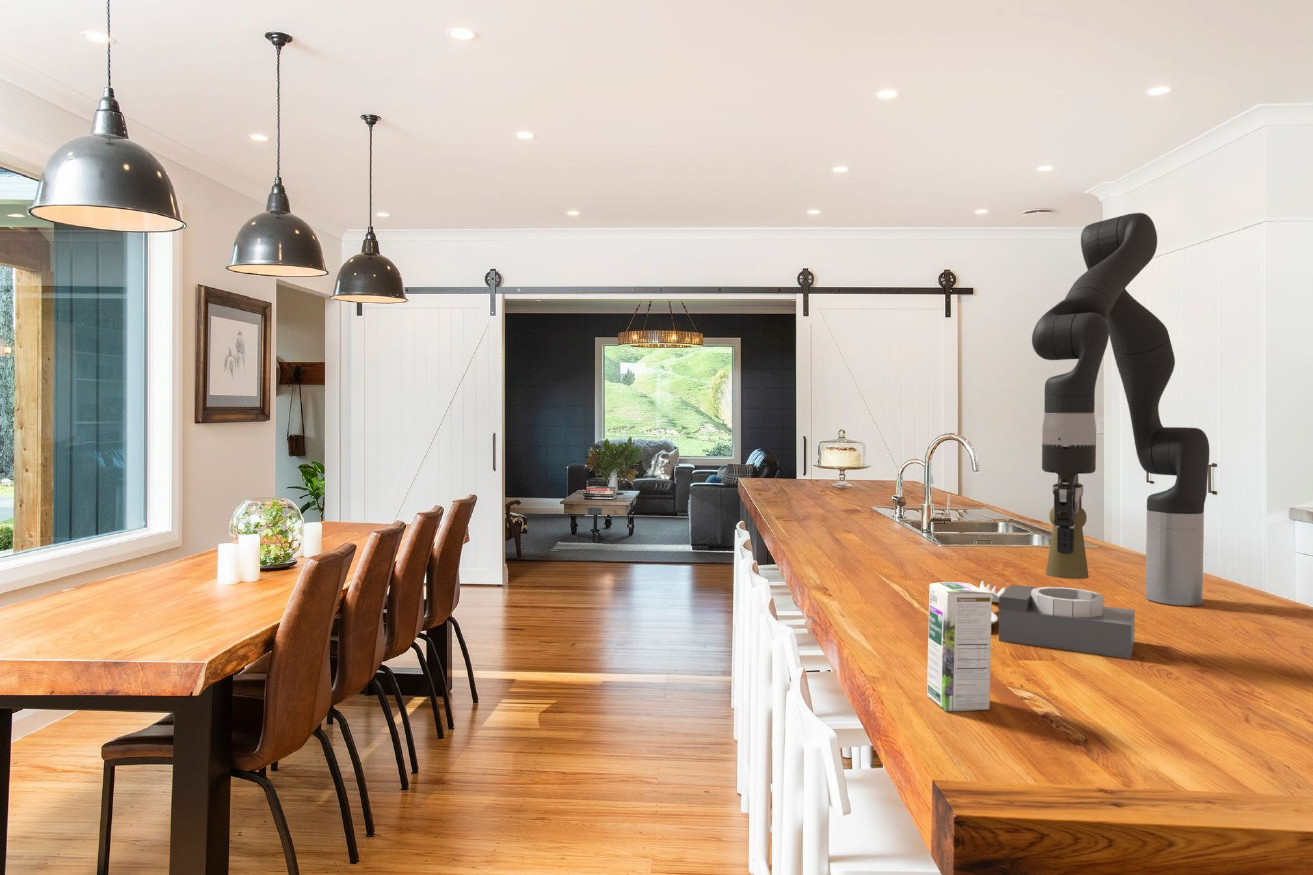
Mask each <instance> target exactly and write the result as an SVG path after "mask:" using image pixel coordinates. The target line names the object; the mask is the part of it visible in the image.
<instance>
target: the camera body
mask: <svg viewBox="0 0 1313 875" xmlns="http://www.w3.org/2000/svg"><path fill="white" fill-rule="evenodd" d="M1104 603H1105V596H1104V595H1103V594H1100V593H1099V592H1095V591H1092V590H1086V589H1081V588H1075V587H1073V588H1072V587H1063V586H1062V587H1061V586H1043V587H1042V586H1041V587H1037V586H1030V585H1019V584H1010V585H1009V586H1008V587H1007V588H1006V590H1005V591H1004V592H1003V593H1002V594H1001V595H1000V596H999V603H998V642H1005V643H1013V644H1019V645H1027V646H1035V647H1039V648H1040V647H1042V648H1048V649H1049V648H1050V649H1057V650H1062V651H1063V650H1064V651H1071V652H1077V653H1084V654H1092V655H1098V656H1099V655H1100V656H1106V657H1113V658H1120V659H1126V660H1127V659H1129V660H1131V659H1132V654H1133V649H1134V646H1135V645H1134V644H1135V626H1136V624H1135V622H1136V621H1135V620H1136V618H1135V617H1136V616H1135V615H1136V613H1135V612H1136V609H1129V608H1121V607H1111V606H1105V605H1104Z"/></svg>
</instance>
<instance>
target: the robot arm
mask: <svg viewBox="0 0 1313 875" xmlns="http://www.w3.org/2000/svg"><path fill="white" fill-rule="evenodd" d="M1157 234H1158V233H1157V229H1156V226H1155V223H1154V221H1153V219H1152V218H1151V217H1150V216H1149V215H1148V214H1146V213H1143V212H1133V213H1128V214H1124V215H1121V216H1120V215H1119V216H1116V217H1112V218H1107V219H1104V220H1101V221H1097V222H1093V223H1091V224H1087V225H1086V226H1085V227H1084V228H1083V229H1082V231H1081V234H1080V247H1081V252H1082V256H1083V261H1084V264H1085V266H1086V269H1087V270H1086V272H1084V273H1083V274H1081V275H1080V276H1079V277H1078V278H1077V280H1075V282H1074V283H1073V285H1071V288H1070V289H1069V291H1068V292H1067V294H1066V296H1065V298H1064V299H1063V300H1061V301H1060V302H1058V303H1057V304H1056V305H1055V306H1053V307H1051V309H1049V310H1048V311H1046V312H1045V313H1044V314H1043V315H1042V316H1041V317H1040V319H1038V321H1037V322H1036V324H1035V326H1034V328H1033V332H1032V335H1031V344H1032V348H1033V350H1034V352H1035V354H1036V355H1038V356H1039V357H1040V358H1041V359H1044V360H1047V361H1064V360H1066V361H1067V360H1077V363H1076V364H1075V366H1074V368H1073V369H1071V371H1068V372H1066V373H1062V374H1058V375H1054V376H1051V377H1049V378H1047V380H1046V381H1045V384H1044V410H1043V411H1044V414H1043V423H1042V430H1041V432H1042V434H1041V438H1042V439H1041V442H1042V444H1041V469H1042V471H1043V472H1045V473H1051V474H1056V475H1057V483H1055V484H1052V494H1053V507H1054V508H1053V507H1052V508H1053V510H1054V513H1055V520H1054V523H1055V526H1056V528H1059V529H1057V551H1058V552H1059V553H1065V554H1071V553H1073V551H1074V530H1073V529H1074V527H1075V515H1078V514H1079V507H1081V508H1082V509H1083V498H1082V497H1083V494H1084V484H1081V482H1080V481H1079V474H1080V475H1084V474H1085V475H1087V474H1088V475H1089V474H1094V473H1095V472H1096V470H1097V468H1096V462H1097V461H1096V460H1097V453H1096V451H1097V446H1096V445H1097V424H1096V418H1095V408H1096V405H1095V404H1096V403H1095V396H1096V384H1097V379H1098V375H1099V370H1100V367H1101V364H1102V361H1103V359H1104V355H1105V353H1106V349H1107V346H1108V343H1109V340H1110V344H1111V349H1112V353H1113V356H1114V361H1115V362H1116V363H1115V364H1116V366H1117V370H1118V374H1119V376H1120V379H1121V382H1122V383H1121V384H1122V386H1123V390H1124V394H1125V398H1126V401H1127V406H1128V410H1129V416H1130V420H1131V421H1130V422H1131V427H1132V433H1133V439H1134V446H1135V451H1136V456H1137V459H1138V461H1139V464H1140V466H1141V468H1142V469H1143V470H1144V472H1147V473H1148V474H1153V475H1156V476H1157V475H1160V476H1176V479H1175V483H1174V484H1173V486H1172V487H1169V488H1168V489H1166V490H1163V491H1160V492H1156V493H1153V494H1152V493H1151V494H1150V495H1148V496H1147V499H1146V538H1145V539H1146V540H1145V541H1146V542H1145V543H1146V544H1145V547H1146V548H1145V553H1146V554H1145V599H1146V600H1148V601H1152V602H1155V603H1159V604H1165V605H1173V606H1187V607H1190V606H1200V605H1202V604H1203V595H1204V594H1203V584H1204V541H1205V540H1204V539H1205V538H1204V537H1205V536H1204V535H1205V534H1204V532H1205V531H1204V529H1205V528H1204V527H1205V524H1204V523H1205V504H1206V503H1205V502H1206V498H1207V493H1208V475H1209V467H1210V465H1209V464H1210V442H1209V439H1208V438H1209V437H1207V434H1206V433H1205V432H1204V431H1203V430H1202V429H1200V428H1198V427H1185V426H1184V427H1182V426H1180V427H1179V426H1178V427H1176V426H1175V427H1174V426H1173V427H1172V426H1171V427H1170V426H1166V427H1165V426H1163V425H1162V422H1161V418H1160V413H1159V411H1160V410H1159V405H1160V400H1161V397H1162V396H1163V393H1164V391H1165V389H1166V387H1167V385H1168V383H1169V381H1170V379H1171V377H1172V375H1173V372H1174V369H1175V367H1176V366H1175V364H1176V360H1175V355H1174V354H1175V353H1174V350H1173V345H1172V342H1171V339H1170V335H1169V334H1170V333H1169V331H1168V328H1167V326H1166V325H1165V324H1164V323H1163V322H1162V321H1161V320H1160V319H1159V318H1158V317H1157V316H1156V315H1155V314H1153V312H1151V310H1149V309H1147V307H1145V306H1144V305H1143V304H1142V303H1140V302H1139V301H1137V300H1136V299H1135V298H1134V297H1133V296H1132V295H1131V294H1130V293H1129V291H1127V289H1126V288H1127V286H1128V285H1129V284H1130V283H1132V281H1133V280H1134V279H1135V278H1136V277H1137V276H1138V274H1140V272H1142V270H1144V268H1145V267H1146V266H1147V265H1148V264H1149V263H1150V262H1151V260H1152V259H1153V258H1154V256H1155V254H1156V251H1157V247H1158V235H1157ZM1079 482H1080V483H1079ZM1061 514H1069V518H1061Z"/></svg>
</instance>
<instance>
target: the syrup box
mask: <svg viewBox="0 0 1313 875" xmlns="http://www.w3.org/2000/svg"><path fill="white" fill-rule="evenodd" d="M928 586H929V590H928V593H929V599H928V602H929V603H928V633H927V634H928V635H927V638H928V639H927V641H928V642H927V672H926V673H927V676H926V677H927V680H926V682H927V684H926V686H927V687H926V688H927V690H926V692H927V693H926V696H927V698H929V699H931V700H932V701H933V702H935V704H937V705H938V706H939V707H941V708H942V709H943V710H944V711H945V712H967V711H969V712H971V711H987V710H990V701H991V700H990V697H991V694H990V693H991V653H992V651H991V650H992V649H991V648H992V647H991V645H992V624H991V611H992V605H993V604H992V603H993V602H992V594H991V592H987V591H985V590H982V589H980V587H977V586H976V585H973V584H972V583H968V582H959V581H957V582H956V581H944V582H943V581H941V582H934V583H932V582H931V583H929V585H928Z"/></svg>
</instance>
